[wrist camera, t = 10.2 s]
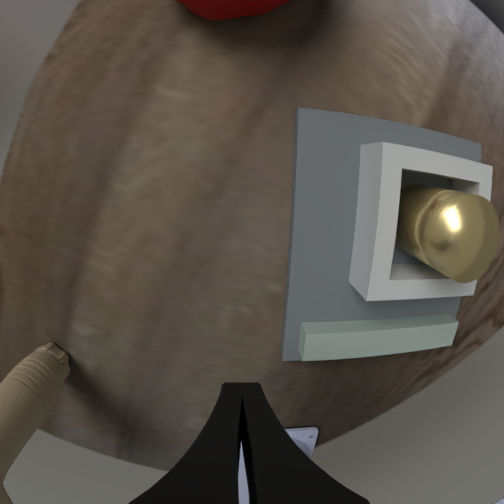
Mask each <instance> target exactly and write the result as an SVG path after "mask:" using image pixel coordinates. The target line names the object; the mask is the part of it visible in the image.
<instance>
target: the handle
mask: <svg viewBox="0 0 504 504" xmlns="http://www.w3.org/2000/svg"><path fill="white" fill-rule="evenodd" d="M68 360H69V357H68V355H67V353H66V352H64V351H62V350H61V349H59V348H58V347H57V346H56V345H55V344H54V343H48V344H47V345H41V346H40V347H38V348H37V349H36V350H35V351H34V352H33V353H32V354H30V355H29V356H27V357H26V358H25V359H23V360H22V361H21V362H20V363H19V364H18V365H17V366H16V367H15V368H14V369H13V370H12V371H11V372H10V373H9V374H8V375H7V376H6V377H5V379H4V380H3V381H2V382H1V384H0V504H13V503H12V501H11V499H10V497H9V496H8V494H7V492H6V490H5V488H4V486H3V481H4V478H5V476H6V474H7V472H8V470H9V468H10V467H11V465H12V464H13V462H14V461H15V459H16V458H17V456H18V455H19V453H20V452H21V450H22V449H23V447H24V446H25V444H26V443H27V441H28V440H29V439H30V438H31V436H32V435H33V433H34V432H35V431H36V430H37V428H38V427H39V425H40V424H41V423H42V421H43V420H44V419H45V417H46V416H47V414H48V413H49V411H50V409H51V408H52V406H53V404H54V403H55V400H56V399H57V397H58V395H59V393H60V391H61V388H62V386H63V383H64V380H66V379H67V377H68V375H69V373H70V370H71V369H70V366H69V363H68Z"/></svg>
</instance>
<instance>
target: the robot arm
mask: <svg viewBox="0 0 504 504" xmlns="http://www.w3.org/2000/svg"><path fill="white" fill-rule="evenodd" d="M317 436H318V429H317V428H316V427H306V428H293V429H284V428H283V426H282V425H281V423H280V422H279V420H278V419H277V417H276V415H275V414H274V412H273V410H272V409H271V407H270V405H269V403H268V401H267V399H266V397H265V395H264V393H263V390H262V388H261V385H260V384H259V383H234V382H225V383H224V384H222V388H221V392H220V395H219V398H218V400H217V403H216V405H215V407H214V409H213V411H212V413H211V415H210V417H209V419H208V421H207V423H206V424H205V426H204V428H203V429H202V431H201V433H200V434H199V436H198V437H197V439H196V440H195V442H194V443H193V444H192V446H191V447H190V448H189V450H188V451H187V452H186V453H185V455H184V456H183V457H182V458H181V459H180V460H179V461H178V463H177V464H176V465H175V466H174V467H173V468H172V469H171V470H170V471H169V472H168V473H167V474H166V475H165V476H163V478H161V479H160V480H159V481H158V482H157V483H156V484H154V485H153V486H152V487H151V488H150V489H148V490H147V491H145V492H144V493H143V494H141V495H140V496H138V497H137V498H136V499H134V500H133V501H131V502H130V503H129V504H370V503H369V501H368V500H367V499H365V498H363V497H362V496H360V495H358V494H356V493H354V492H353V491H351V490H350V489H348V488H346V487H345V486H343V485H342V484H340V483H339V482H337V481H336V480H335V479H333V478H332V477H331V476H329V475H328V474H327V473H326V472H325V471H323V470H322V469H321V468H320V467H318V466H317V465H316V464H315V463H314V462H313V461H312V460H311V457H312V454H313V450H314V447H315V443H316V439H317ZM493 504H504V497H503V498H501V499H500V500H498V501H496V502H495V503H493Z"/></svg>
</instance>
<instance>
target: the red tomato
mask: <svg viewBox="0 0 504 504" xmlns="http://www.w3.org/2000/svg"><path fill="white" fill-rule="evenodd" d="M176 1H178V2H180V3H183V4H184V5H185V7H187V8H188V9H189V10H190V11H191V12H193V13H195V14H197V15H199V16H202V17H203V18H205V19H210V20H227V19H232V18H238V17H242V16H255V15H261V14H265V13H267V12H270V11H271V10H273V9H275V8H277V7H278V6H281V5H283V4H285V3H287V2H289V1H291V0H176Z"/></svg>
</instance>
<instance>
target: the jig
mask: <svg viewBox="0 0 504 504" xmlns="http://www.w3.org/2000/svg"><path fill="white" fill-rule="evenodd" d="M492 169H493V167H492V166H489V165H485V164H482V163H481V144H478V143H475V142H472V141H469V140H465V139H462V138H459V137H455V136H452V135H448V134H444V133H441V132H437V131H433V130H429V129H425V128H421V127H417V126H412V125H408V124H403V123H398V122H394V121H389V120H383V119H378V118H373V117H367V116H361V115H355V114H348V113H341V112H334V111H326V110H317V109H308V108H298V109H297V110H295V138H294V164H293V185H292V205H291V222H290V239H289V254H288V268H287V282H286V295H285V307H284V319H283V330H282V341H281V352H280V354H281V358H282V361H299V360H302V361H317V360H334V359H348V358H359V357H370V356H380V355H389V354H397V353H405V352H412V351H419V350H426V349H432V348H439V347H445V346H450V345H452V342H453V339H454V336H455V333H456V330H457V327H458V323H459V322H458V321H457V320H456V315H457V312H458V308H459V304H460V301H461V297H462V296H467V295H474V291H475V287H476V283H477V279H476V280H474V281H472V282H469V283H459V282H456V281H454V280H452V279H451V278H449V277H447V276H446V275H444V274H443V273H441V272H439V271H437V270H436V269H434V268H432V267H431V266H429V265H427V264H426V263H424V262H422V261H420V260H419V259H417V258H415V257H413V256H412V255H410V254H408V253H406V252H405V251H403V250H401V249H399V248H398V247H396V246H395V237H396V229H397V221H398V211H399V201H400V189H401V188H403V187H405V186H407V185H412V184H417V185H424V186H430V187H436V188H442V189H448V190H453V191H459V192H464V193H469V194H475V195H479V196H482V197H484V198H486V199H487V200H489V201H490V198H491V186H492Z"/></svg>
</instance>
